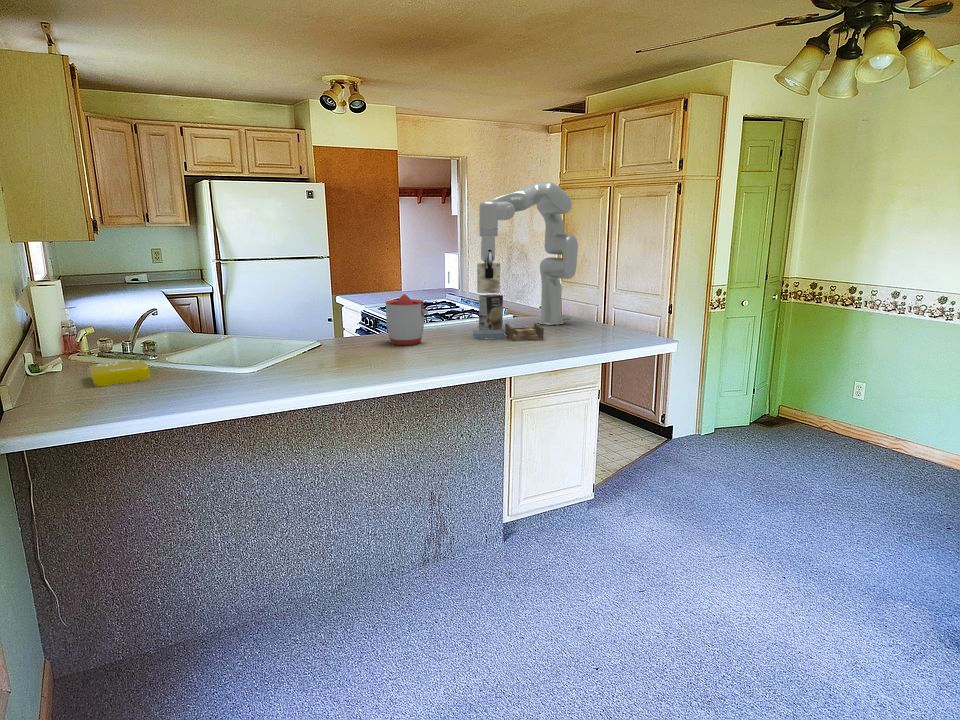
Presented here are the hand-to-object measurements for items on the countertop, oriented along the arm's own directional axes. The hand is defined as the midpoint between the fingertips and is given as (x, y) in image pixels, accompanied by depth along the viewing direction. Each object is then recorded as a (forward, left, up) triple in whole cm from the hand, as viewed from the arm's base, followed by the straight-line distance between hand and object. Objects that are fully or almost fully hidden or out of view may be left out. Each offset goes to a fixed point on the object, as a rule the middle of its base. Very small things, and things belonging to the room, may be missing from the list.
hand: (488, 277), depth 248 cm
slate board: (0, 0, -26) cm, 26 cm away
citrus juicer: (+34, +8, -26) cm, 43 cm away
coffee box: (-3, -16, -26) cm, 31 cm away
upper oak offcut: (-15, +5, -24) cm, 29 cm away
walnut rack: (-15, +2, -26) cm, 30 cm away
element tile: (+124, +55, -26) cm, 138 cm away
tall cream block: (0, 0, -6) cm, 6 cm away
